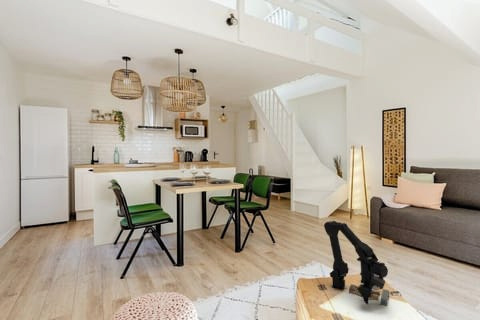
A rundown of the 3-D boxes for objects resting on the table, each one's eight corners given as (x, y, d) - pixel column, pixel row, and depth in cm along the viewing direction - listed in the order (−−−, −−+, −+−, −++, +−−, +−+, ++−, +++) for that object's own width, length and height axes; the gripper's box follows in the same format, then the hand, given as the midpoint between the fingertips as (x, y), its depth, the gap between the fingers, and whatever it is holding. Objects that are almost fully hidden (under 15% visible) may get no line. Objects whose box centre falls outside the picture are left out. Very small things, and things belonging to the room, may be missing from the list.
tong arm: (349, 293, 148) (349, 286, 148) (350, 291, 149) (350, 285, 149) (378, 300, 139) (378, 293, 139) (378, 299, 141) (378, 292, 141)
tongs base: (348, 293, 148) (348, 288, 148) (351, 288, 153) (351, 284, 153) (378, 300, 139) (378, 296, 139) (379, 295, 145) (379, 290, 145)
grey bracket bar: (380, 304, 135) (380, 298, 135) (383, 294, 145) (383, 289, 145) (387, 306, 134) (387, 300, 134) (389, 296, 143) (389, 290, 143)
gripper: (381, 280, 126) (383, 312, 125) (385, 267, 141) (387, 296, 141) (356, 275, 132) (358, 306, 132) (363, 264, 148) (365, 291, 147)
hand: (368, 300), depth 138 cm, fingers open, 8 cm apart
